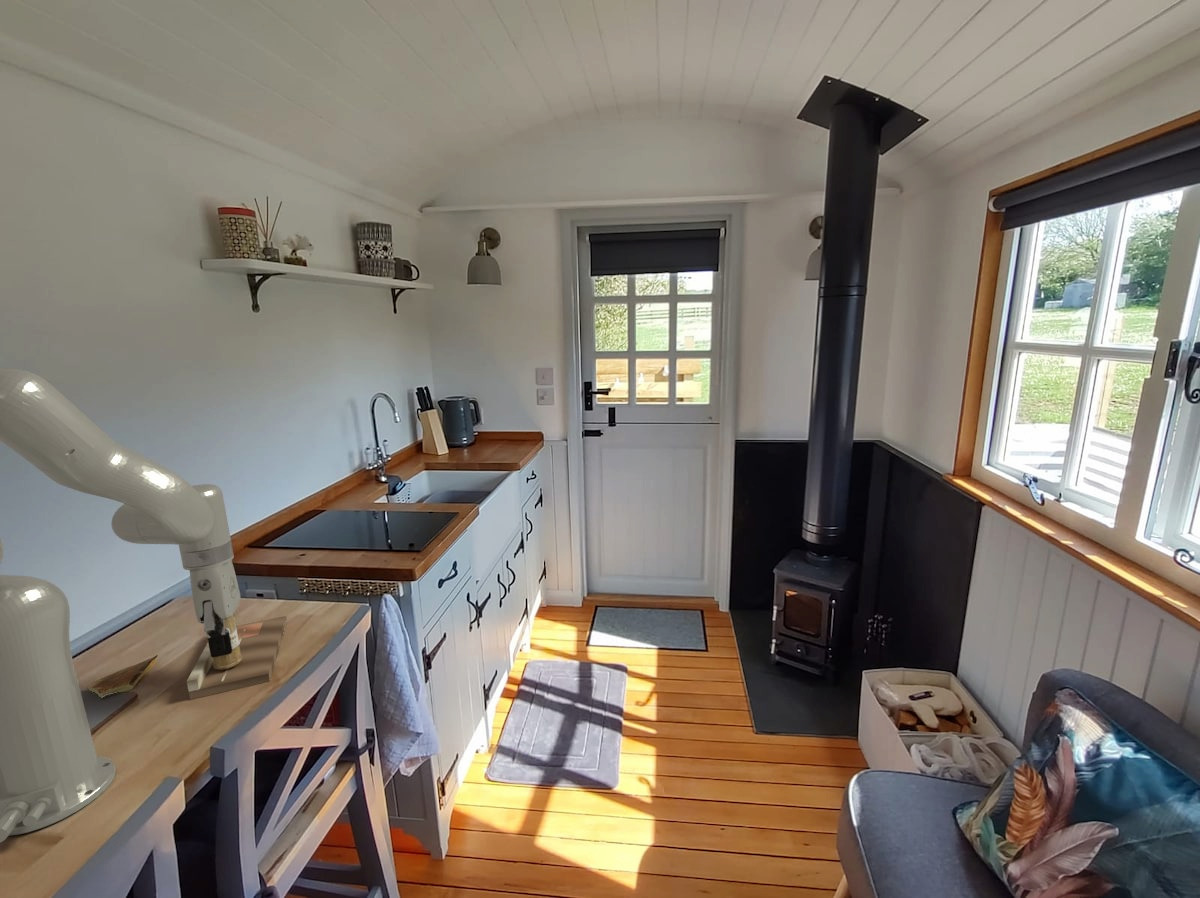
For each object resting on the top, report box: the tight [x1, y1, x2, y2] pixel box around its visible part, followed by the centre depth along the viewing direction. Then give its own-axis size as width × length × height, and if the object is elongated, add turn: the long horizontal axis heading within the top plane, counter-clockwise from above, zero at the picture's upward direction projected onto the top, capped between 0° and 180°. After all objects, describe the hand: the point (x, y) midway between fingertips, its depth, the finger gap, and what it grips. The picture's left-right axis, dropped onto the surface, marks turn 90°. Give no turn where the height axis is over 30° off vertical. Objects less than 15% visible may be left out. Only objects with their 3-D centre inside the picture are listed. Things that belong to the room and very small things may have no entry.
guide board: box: [186, 615, 288, 700], centre depth 109 cm, size 24×12×4 cm, turn 22°
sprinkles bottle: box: [213, 613, 242, 670], centre depth 102 cm, size 5×5×13 cm
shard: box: [87, 654, 159, 697], centre depth 103 cm, size 11×8×2 cm
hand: (225, 647), depth 103 cm, fingers closed on sprinkles bottle, 4 cm apart
